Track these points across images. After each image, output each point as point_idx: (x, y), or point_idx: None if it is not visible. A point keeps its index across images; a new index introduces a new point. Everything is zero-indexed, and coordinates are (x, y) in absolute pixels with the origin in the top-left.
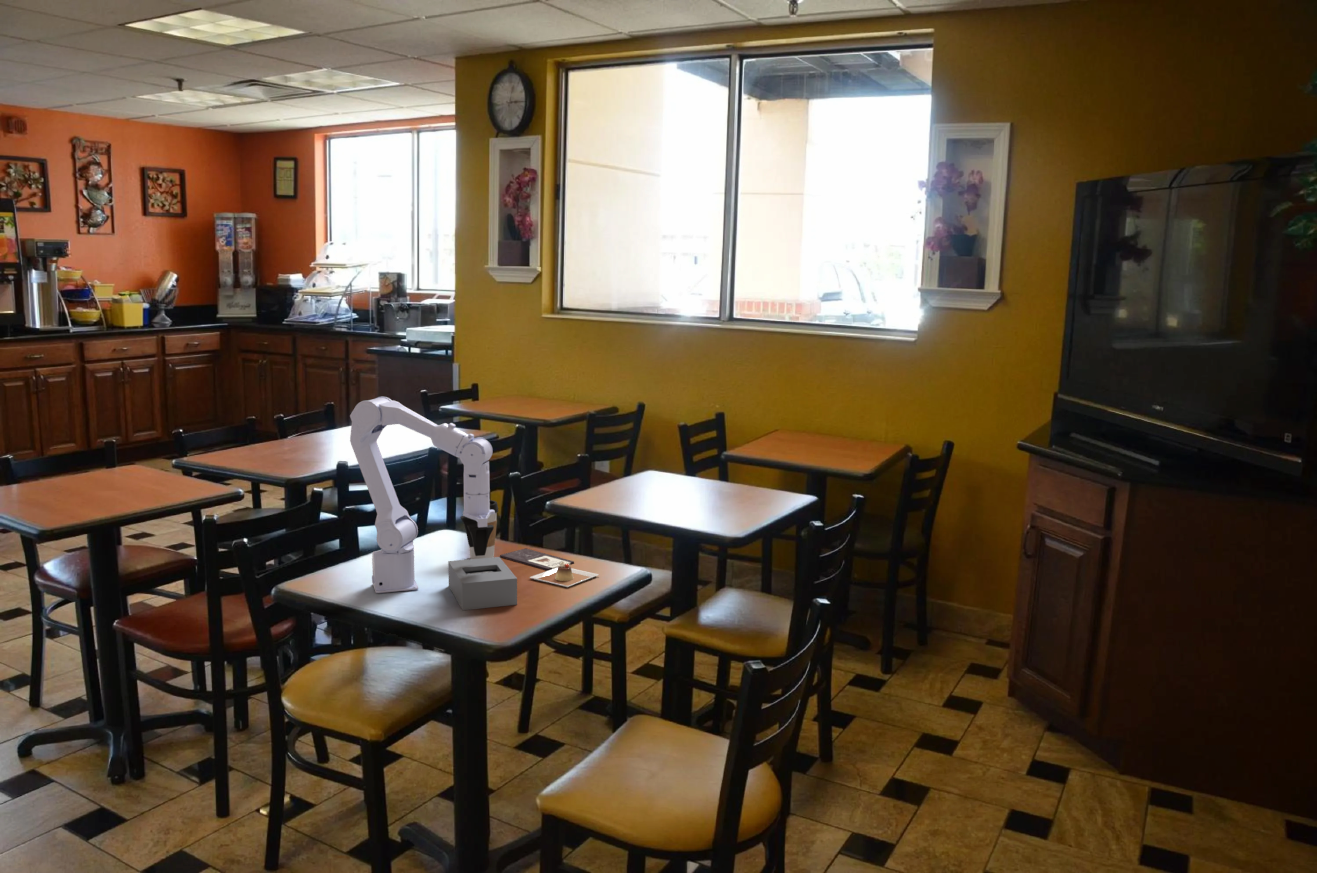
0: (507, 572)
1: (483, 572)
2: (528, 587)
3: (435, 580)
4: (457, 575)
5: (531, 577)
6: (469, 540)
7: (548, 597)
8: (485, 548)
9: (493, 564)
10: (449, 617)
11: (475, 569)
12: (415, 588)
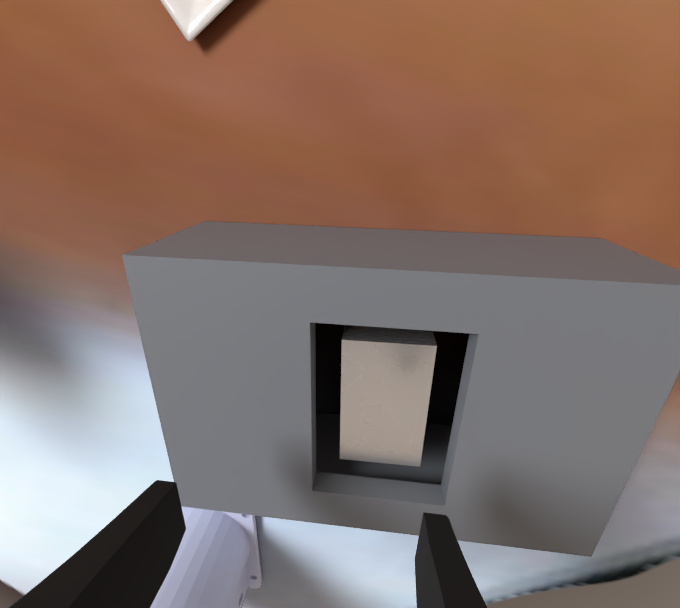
0: (527, 308)
1: (352, 387)
2: (343, 94)
3: (153, 435)
4: None
5: (197, 26)
6: (154, 585)
7: (586, 15)
8: (470, 580)
9: (298, 338)
10: None
11: (314, 422)
12: None
